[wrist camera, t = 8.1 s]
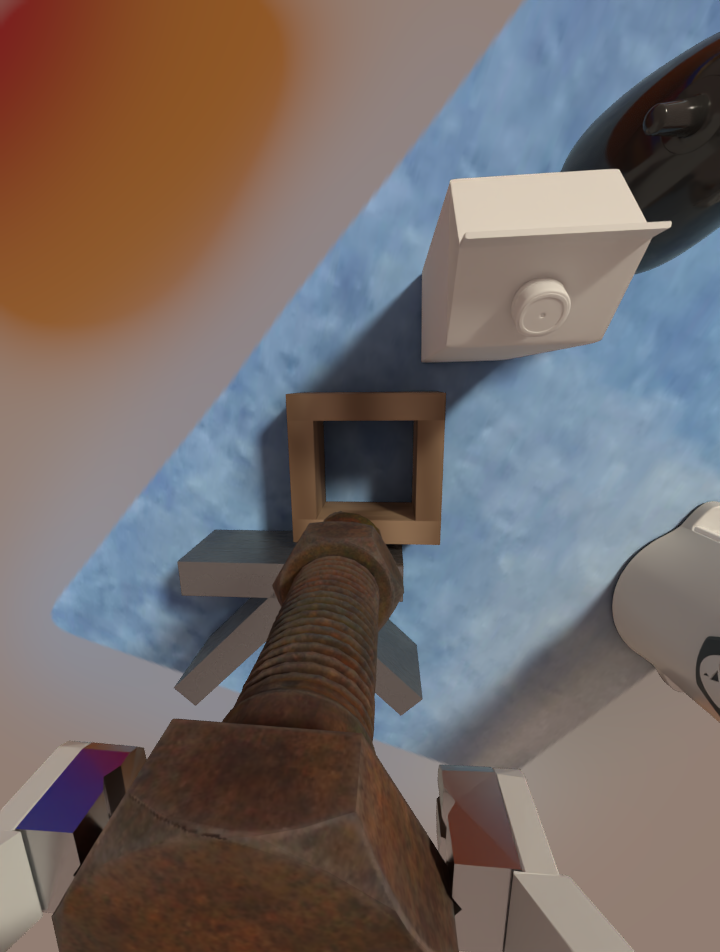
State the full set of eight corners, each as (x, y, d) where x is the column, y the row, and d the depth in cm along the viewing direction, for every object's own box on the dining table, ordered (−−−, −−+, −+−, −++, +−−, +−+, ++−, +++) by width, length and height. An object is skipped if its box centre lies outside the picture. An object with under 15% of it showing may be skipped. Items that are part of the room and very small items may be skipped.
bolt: (363, 605, 20) (299, 1157, 6) (279, 556, 20) (-6, 1013, 6) (425, 516, 19) (540, 950, 5) (335, 462, 19) (151, 744, 4)
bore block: (437, 391, 34) (445, 393, 29) (433, 523, 37) (439, 544, 32) (299, 392, 35) (285, 394, 30) (305, 521, 37) (293, 542, 33)
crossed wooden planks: (419, 533, 37) (426, 567, 30) (416, 660, 40) (421, 716, 33) (197, 529, 38) (156, 561, 32) (210, 652, 42) (176, 704, 35)
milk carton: (421, 271, 32) (468, 119, 13) (511, 267, 31) (689, 102, 13) (420, 363, 33) (461, 339, 15) (506, 360, 33) (657, 332, 15)
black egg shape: (522, 163, 30) (655, -53, 15) (669, 117, 28) (973, -170, 14) (542, 304, 32) (677, 237, 17) (680, 266, 31) (954, 159, 16)
